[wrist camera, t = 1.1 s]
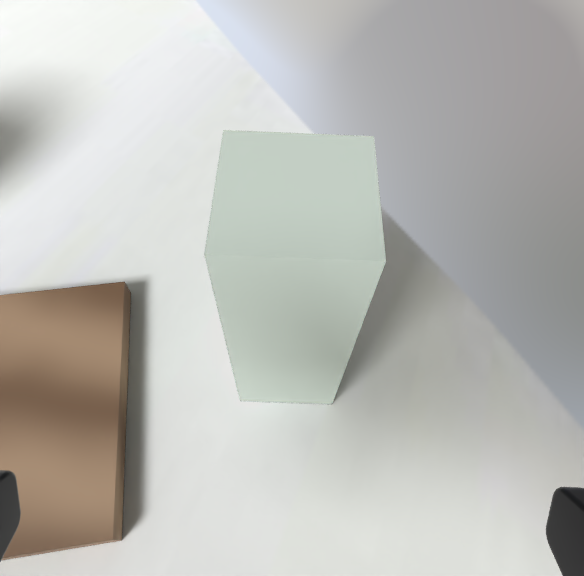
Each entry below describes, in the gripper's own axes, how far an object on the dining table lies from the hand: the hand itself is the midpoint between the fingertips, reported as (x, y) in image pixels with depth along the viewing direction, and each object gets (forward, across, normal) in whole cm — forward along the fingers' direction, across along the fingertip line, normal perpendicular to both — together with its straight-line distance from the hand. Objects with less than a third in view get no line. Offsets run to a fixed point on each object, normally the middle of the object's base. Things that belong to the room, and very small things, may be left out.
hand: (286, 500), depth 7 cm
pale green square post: (+15, 0, +4) cm, 16 cm away
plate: (+13, +14, +6) cm, 20 cm away
